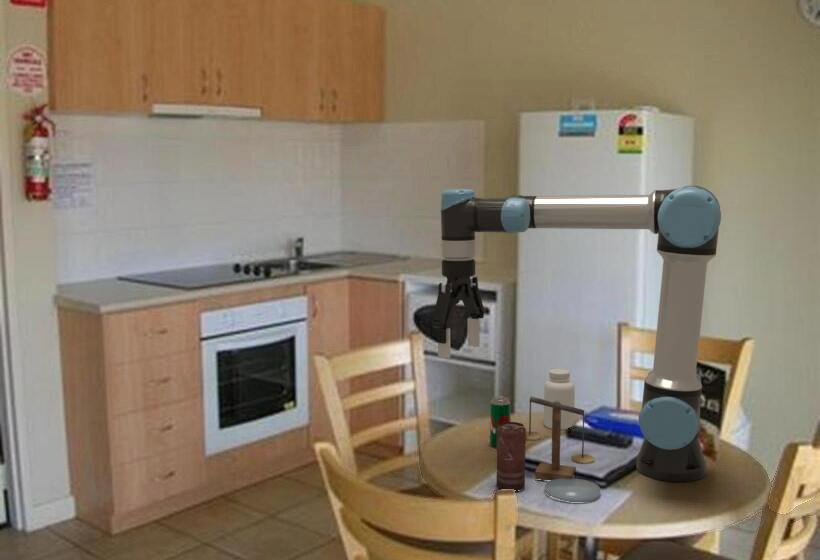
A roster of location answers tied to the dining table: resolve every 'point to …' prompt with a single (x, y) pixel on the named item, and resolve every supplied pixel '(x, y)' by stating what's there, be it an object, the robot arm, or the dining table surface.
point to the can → (511, 455)
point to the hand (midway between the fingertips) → (459, 351)
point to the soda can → (498, 416)
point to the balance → (557, 444)
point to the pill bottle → (559, 397)
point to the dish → (573, 490)
